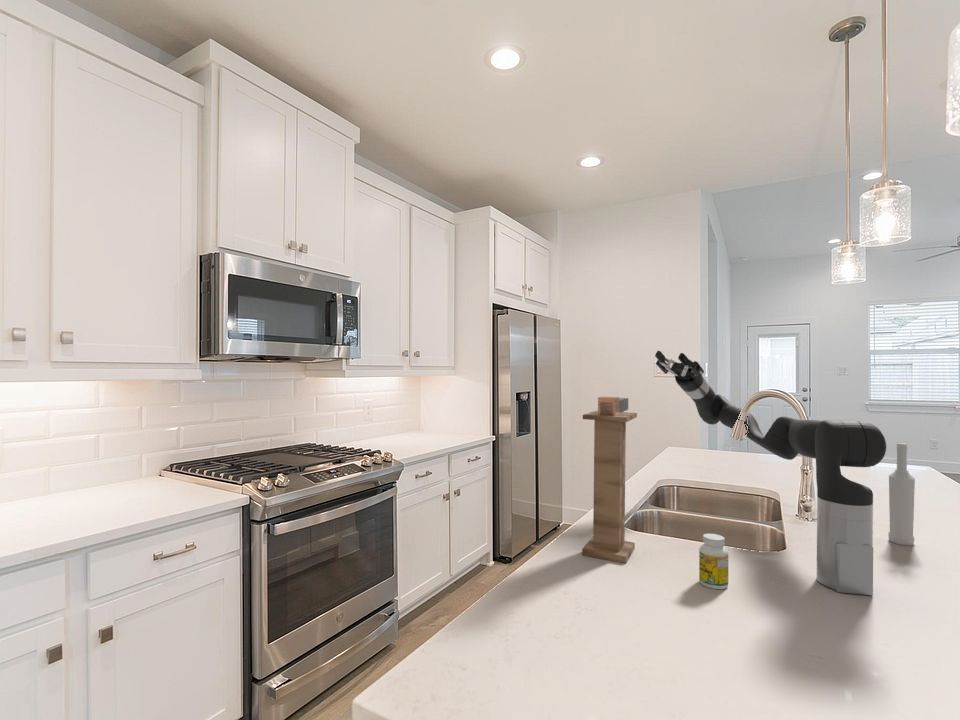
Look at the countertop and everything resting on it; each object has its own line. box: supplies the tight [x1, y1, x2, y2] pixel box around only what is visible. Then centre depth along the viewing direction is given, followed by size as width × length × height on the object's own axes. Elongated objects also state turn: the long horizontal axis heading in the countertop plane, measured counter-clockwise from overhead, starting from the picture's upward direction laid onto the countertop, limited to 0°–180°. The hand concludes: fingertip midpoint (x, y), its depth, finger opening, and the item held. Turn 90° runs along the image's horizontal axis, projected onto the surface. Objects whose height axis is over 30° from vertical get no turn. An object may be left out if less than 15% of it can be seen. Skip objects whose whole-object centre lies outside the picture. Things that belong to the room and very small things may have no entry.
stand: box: [581, 410, 638, 564], centre depth 119 cm, size 12×10×32 cm
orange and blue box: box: [597, 396, 629, 416], centre depth 124 cm, size 18×4×4 cm, turn 153°
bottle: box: [887, 442, 916, 546], centre depth 129 cm, size 5×5×25 cm
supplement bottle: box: [698, 533, 730, 590], centre depth 102 cm, size 5×5×10 cm
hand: (668, 354), depth 158 cm, fingers open, 8 cm apart
